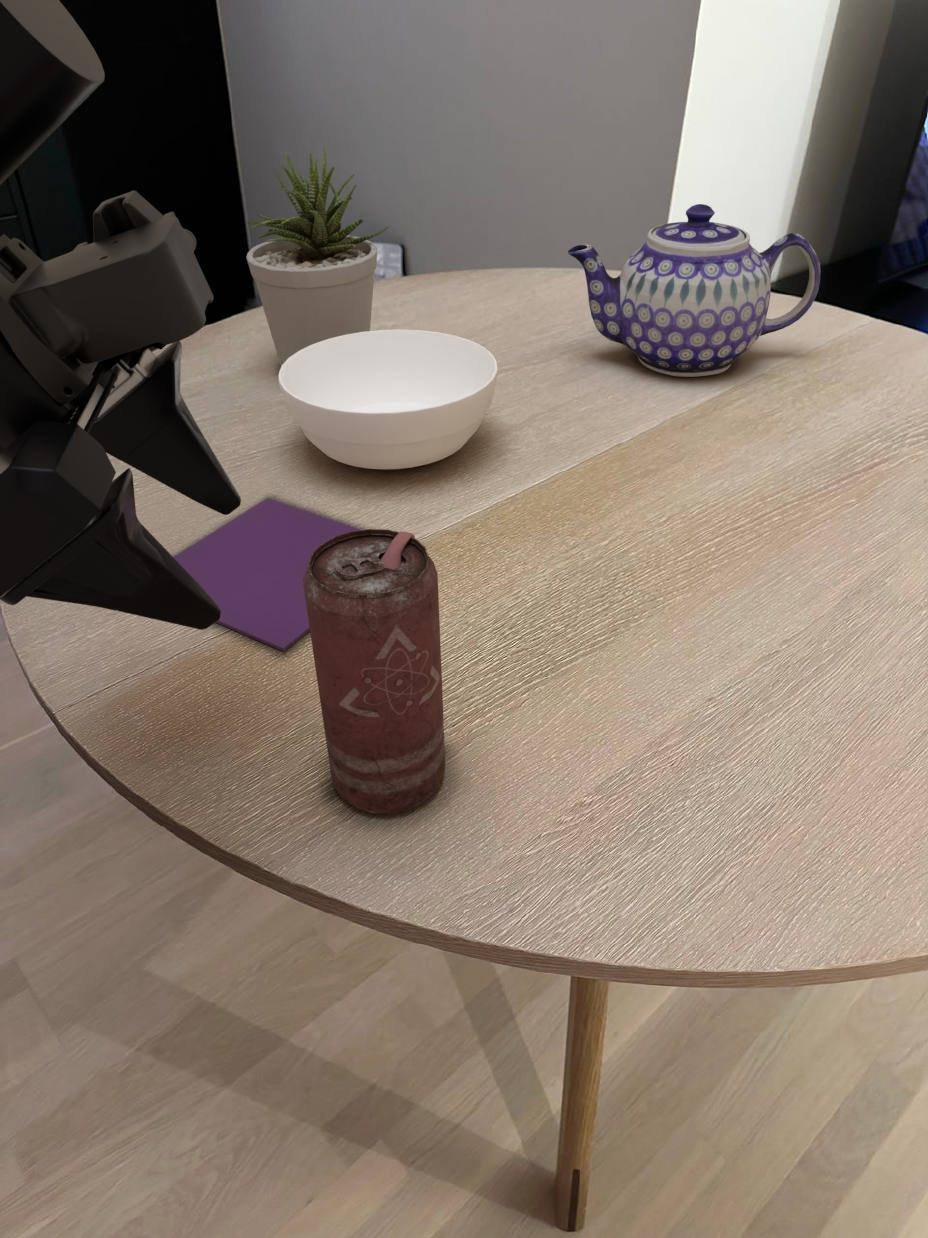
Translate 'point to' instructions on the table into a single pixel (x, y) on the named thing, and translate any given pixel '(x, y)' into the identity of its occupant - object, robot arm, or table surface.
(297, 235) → the potted plant
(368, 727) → the can
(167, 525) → the table surface
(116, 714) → the table surface
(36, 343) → the robot arm
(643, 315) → the teapot
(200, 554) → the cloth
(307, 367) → the bowl
